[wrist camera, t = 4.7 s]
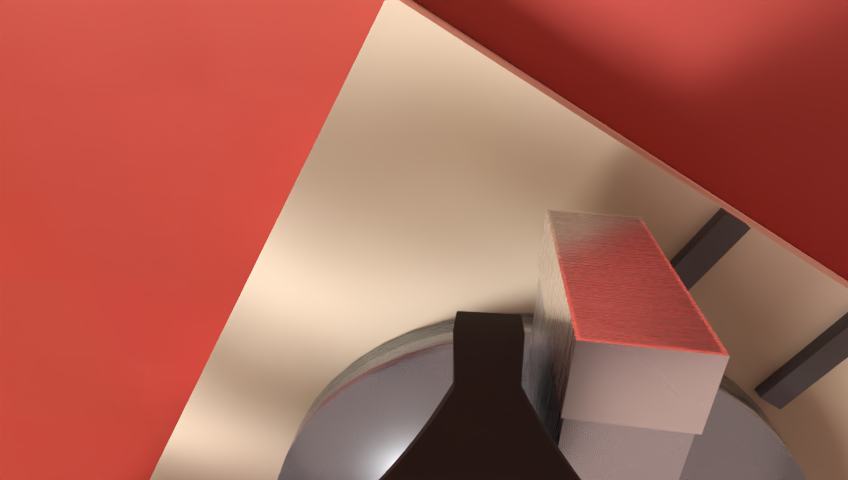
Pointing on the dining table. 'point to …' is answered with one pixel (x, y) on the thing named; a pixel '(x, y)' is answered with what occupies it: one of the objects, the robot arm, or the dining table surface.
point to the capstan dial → (569, 375)
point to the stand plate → (486, 251)
